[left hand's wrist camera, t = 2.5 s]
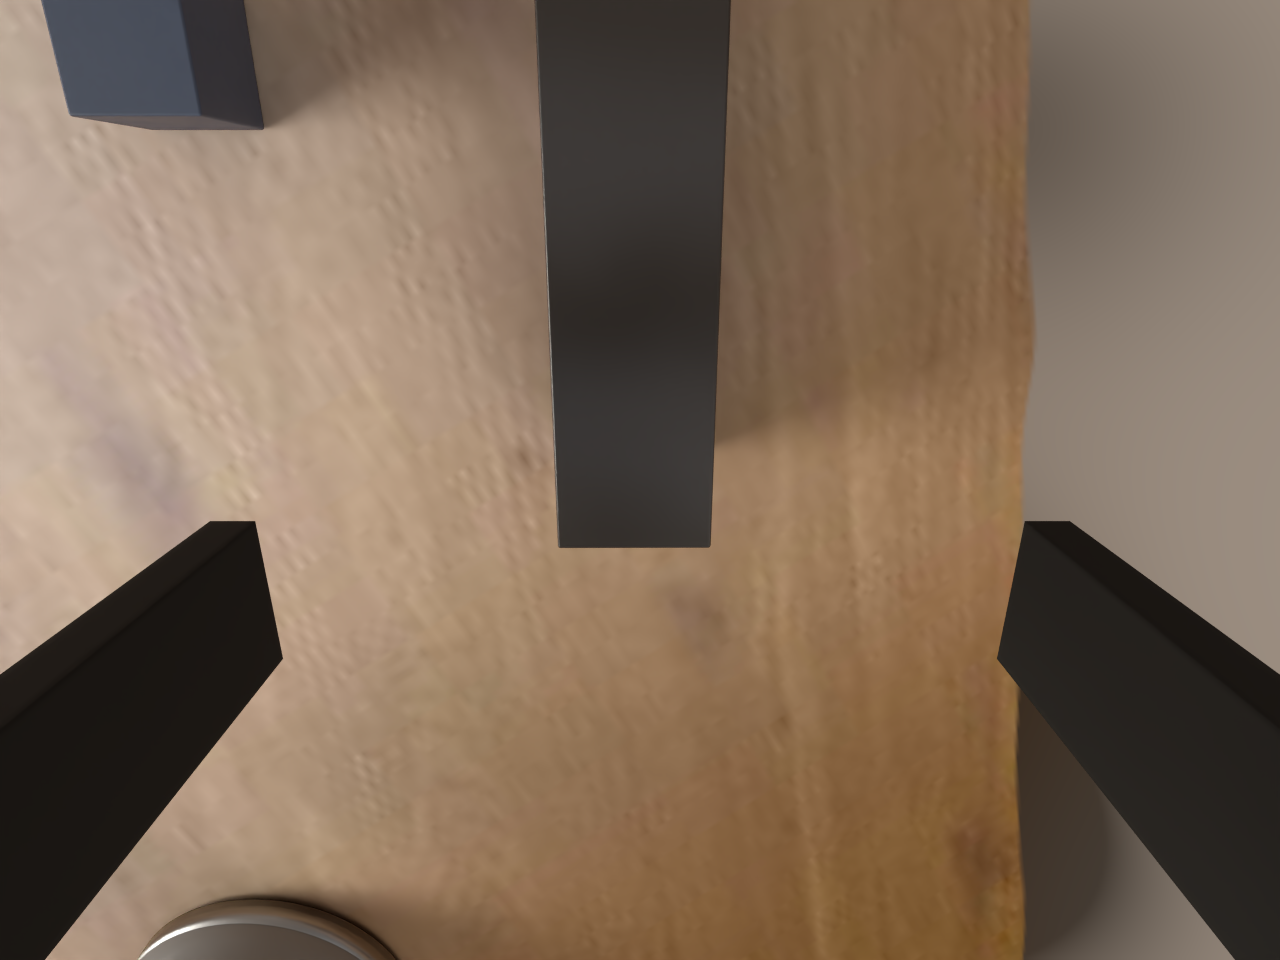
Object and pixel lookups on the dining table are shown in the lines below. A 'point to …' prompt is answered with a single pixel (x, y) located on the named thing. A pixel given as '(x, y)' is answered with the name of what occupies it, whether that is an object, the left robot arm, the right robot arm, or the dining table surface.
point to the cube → (156, 63)
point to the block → (633, 262)
